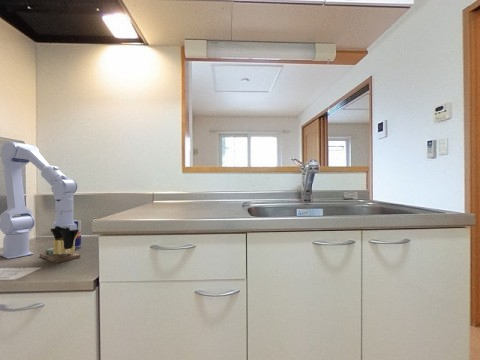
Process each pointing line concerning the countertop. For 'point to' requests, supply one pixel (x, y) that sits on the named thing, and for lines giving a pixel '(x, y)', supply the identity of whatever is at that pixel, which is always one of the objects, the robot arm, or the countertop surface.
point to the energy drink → (78, 234)
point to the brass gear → (61, 247)
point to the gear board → (58, 256)
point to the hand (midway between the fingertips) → (64, 247)
